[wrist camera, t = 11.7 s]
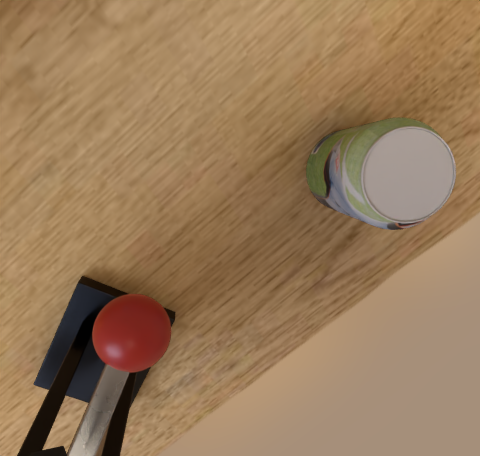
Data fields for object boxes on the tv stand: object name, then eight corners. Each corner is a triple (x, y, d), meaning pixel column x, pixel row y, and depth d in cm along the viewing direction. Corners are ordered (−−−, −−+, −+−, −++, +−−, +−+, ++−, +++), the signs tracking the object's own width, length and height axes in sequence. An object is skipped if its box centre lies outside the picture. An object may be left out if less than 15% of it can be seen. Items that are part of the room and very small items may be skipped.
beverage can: (320, 218, 34) (383, 280, 23) (283, 134, 32) (332, 157, 21) (391, 182, 34) (491, 228, 23) (359, 96, 32) (452, 97, 20)
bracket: (82, 275, 34) (-97, 566, 13) (175, 311, 35) (149, 619, 15) (38, 375, 36) (-174, 758, 15) (128, 404, 38) (48, 784, 17)
